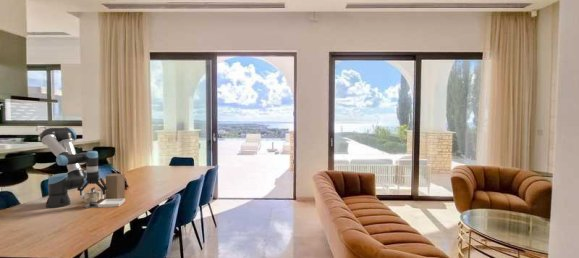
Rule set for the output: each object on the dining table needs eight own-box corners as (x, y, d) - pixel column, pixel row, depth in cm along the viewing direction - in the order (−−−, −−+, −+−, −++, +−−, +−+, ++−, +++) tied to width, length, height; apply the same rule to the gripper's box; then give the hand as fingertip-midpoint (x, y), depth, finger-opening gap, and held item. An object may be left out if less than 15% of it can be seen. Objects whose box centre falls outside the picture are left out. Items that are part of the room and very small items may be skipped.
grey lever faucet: (83, 207, 229) (83, 189, 228) (88, 204, 237) (88, 186, 237) (96, 207, 230) (96, 189, 230) (101, 203, 239) (101, 186, 239)
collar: (84, 202, 229) (84, 194, 229) (90, 198, 239) (90, 191, 238) (96, 201, 231) (96, 194, 230) (101, 198, 240) (101, 190, 240)
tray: (97, 207, 230) (97, 204, 230) (105, 201, 245) (105, 199, 244) (119, 206, 233) (119, 203, 233) (125, 201, 248) (125, 198, 248)
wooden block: (124, 197, 259) (124, 173, 258) (117, 200, 249) (116, 176, 249) (113, 196, 260) (113, 173, 259) (105, 199, 250) (105, 175, 249)
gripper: (71, 172, 226) (72, 201, 227) (108, 172, 232) (109, 199, 233) (76, 171, 234) (76, 198, 235) (112, 170, 239) (112, 197, 240)
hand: (92, 199), depth 234 cm, fingers open, 13 cm apart
